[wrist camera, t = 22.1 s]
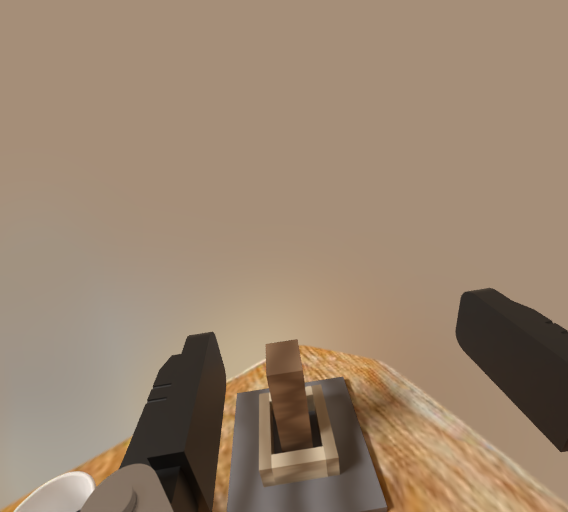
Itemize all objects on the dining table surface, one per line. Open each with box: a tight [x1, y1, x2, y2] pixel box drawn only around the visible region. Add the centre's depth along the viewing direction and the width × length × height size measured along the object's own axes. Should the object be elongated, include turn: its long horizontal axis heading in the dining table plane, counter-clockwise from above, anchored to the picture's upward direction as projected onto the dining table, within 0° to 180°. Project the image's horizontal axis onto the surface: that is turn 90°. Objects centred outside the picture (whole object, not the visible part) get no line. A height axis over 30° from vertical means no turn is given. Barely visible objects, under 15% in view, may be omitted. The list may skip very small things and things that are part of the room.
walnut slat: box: [266, 339, 313, 453], centre depth 36 cm, size 4×5×15 cm
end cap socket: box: [227, 377, 387, 512], centre depth 38 cm, size 18×18×4 cm
